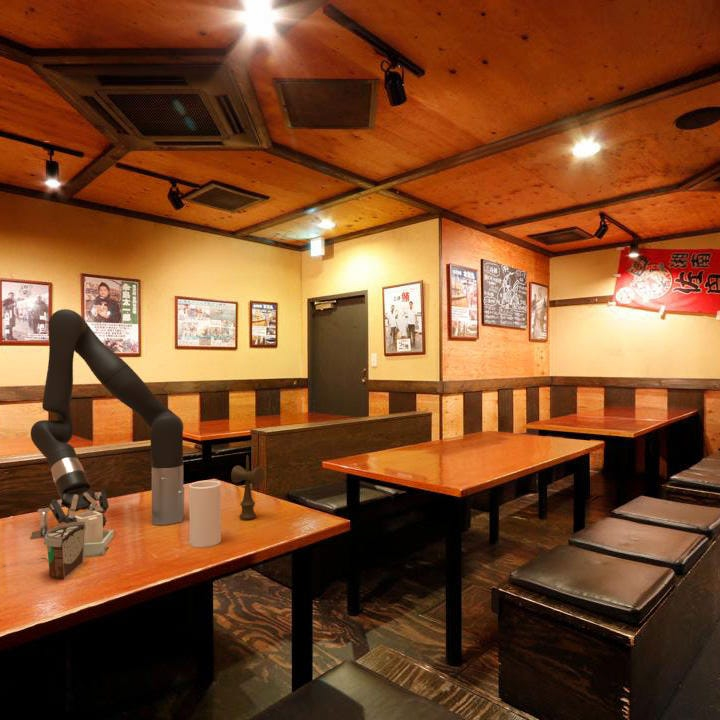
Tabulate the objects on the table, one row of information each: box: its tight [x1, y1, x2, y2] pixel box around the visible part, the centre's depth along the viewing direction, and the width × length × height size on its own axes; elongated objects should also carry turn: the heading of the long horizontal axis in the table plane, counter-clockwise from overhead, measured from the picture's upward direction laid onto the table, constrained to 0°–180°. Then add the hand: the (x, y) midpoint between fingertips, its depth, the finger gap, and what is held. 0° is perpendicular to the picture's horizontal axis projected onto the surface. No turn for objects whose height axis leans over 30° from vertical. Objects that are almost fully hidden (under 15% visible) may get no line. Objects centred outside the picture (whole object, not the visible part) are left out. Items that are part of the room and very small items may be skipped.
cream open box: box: [73, 510, 104, 544], centre depth 132 cm, size 6×7×8 cm
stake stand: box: [29, 507, 51, 541], centre depth 142 cm, size 8×7×8 cm
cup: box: [188, 480, 222, 548], centre depth 138 cm, size 8×8×16 cm
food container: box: [43, 521, 86, 580], centre depth 119 cm, size 12×6×10 cm, turn 5°
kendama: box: [230, 454, 265, 521], centre depth 159 cm, size 6×10×20 cm, turn 65°
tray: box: [83, 529, 115, 558], centre depth 133 cm, size 10×10×3 cm
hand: (90, 529), depth 132 cm, fingers open, 6 cm apart
